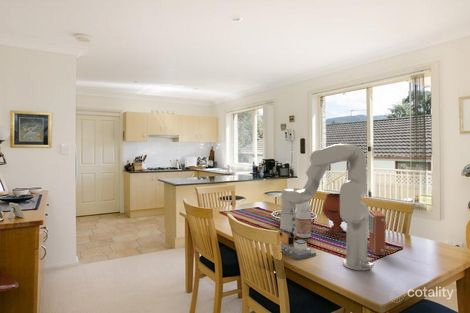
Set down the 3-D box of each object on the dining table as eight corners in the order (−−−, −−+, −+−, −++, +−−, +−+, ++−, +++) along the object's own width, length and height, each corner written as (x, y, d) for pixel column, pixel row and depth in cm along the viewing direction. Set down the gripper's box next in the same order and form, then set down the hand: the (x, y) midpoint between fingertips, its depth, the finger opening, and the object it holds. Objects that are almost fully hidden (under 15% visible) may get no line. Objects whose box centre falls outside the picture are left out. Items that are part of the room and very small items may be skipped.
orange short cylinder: (293, 244, 171) (294, 231, 170) (287, 245, 168) (287, 233, 168) (288, 241, 175) (288, 229, 174) (282, 243, 172) (282, 231, 172)
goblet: (354, 229, 212) (354, 193, 211) (348, 235, 195) (348, 197, 194) (326, 225, 222) (326, 191, 221) (319, 231, 205) (319, 195, 205)
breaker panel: (315, 255, 161) (315, 248, 161) (296, 259, 155) (296, 253, 155) (289, 243, 180) (289, 237, 180) (272, 247, 174) (272, 241, 174)
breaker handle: (306, 251, 161) (306, 241, 161) (299, 253, 159) (299, 243, 159) (300, 249, 166) (300, 239, 165) (293, 250, 163) (293, 240, 163)
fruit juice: (293, 235, 197) (293, 192, 196) (303, 233, 202) (303, 191, 201) (303, 239, 189) (303, 194, 188) (314, 236, 194) (314, 193, 193)
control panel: (379, 246, 174) (387, 256, 160) (366, 246, 176) (373, 255, 161) (380, 210, 173) (387, 216, 159) (367, 209, 175) (373, 215, 160)
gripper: (303, 212, 165) (303, 245, 166) (284, 207, 180) (284, 237, 181) (292, 214, 162) (292, 248, 162) (274, 208, 176) (274, 239, 177)
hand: (288, 242), depth 171 cm, fingers closed on orange short cylinder, 4 cm apart
